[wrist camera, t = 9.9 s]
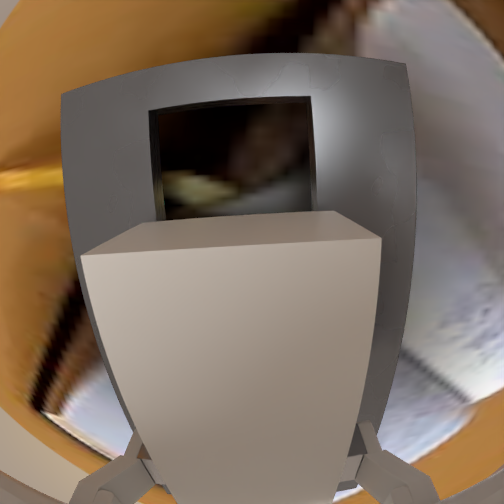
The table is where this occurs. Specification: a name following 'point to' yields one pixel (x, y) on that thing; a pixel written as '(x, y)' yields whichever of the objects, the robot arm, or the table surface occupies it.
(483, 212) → the table surface
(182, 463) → the power strip
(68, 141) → the keyhole plate
